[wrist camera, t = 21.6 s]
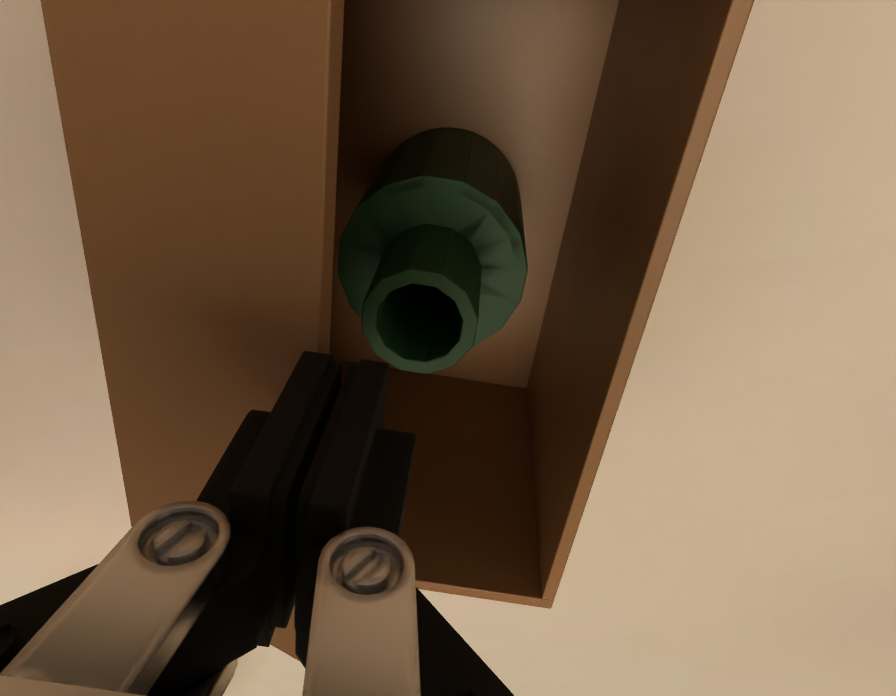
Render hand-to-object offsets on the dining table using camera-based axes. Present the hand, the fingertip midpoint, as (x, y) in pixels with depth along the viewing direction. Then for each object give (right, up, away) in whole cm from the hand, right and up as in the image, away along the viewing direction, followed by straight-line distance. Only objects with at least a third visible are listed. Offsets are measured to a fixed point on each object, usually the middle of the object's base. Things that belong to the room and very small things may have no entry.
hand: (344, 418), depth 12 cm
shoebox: (+1, +8, +14) cm, 16 cm away
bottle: (+2, +7, +13) cm, 15 cm away
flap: (-3, +1, +2) cm, 4 cm away
